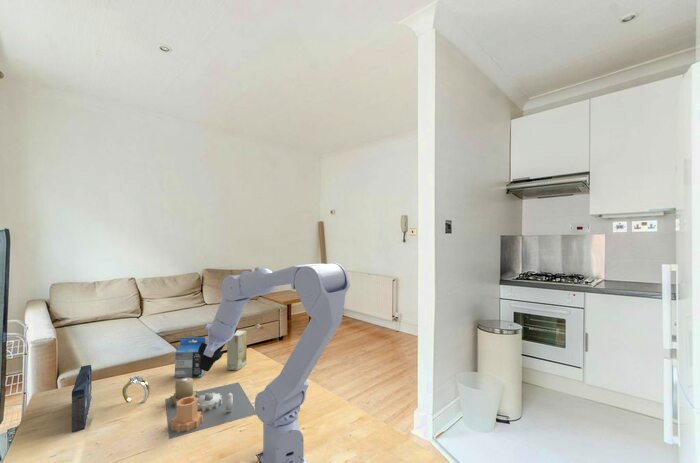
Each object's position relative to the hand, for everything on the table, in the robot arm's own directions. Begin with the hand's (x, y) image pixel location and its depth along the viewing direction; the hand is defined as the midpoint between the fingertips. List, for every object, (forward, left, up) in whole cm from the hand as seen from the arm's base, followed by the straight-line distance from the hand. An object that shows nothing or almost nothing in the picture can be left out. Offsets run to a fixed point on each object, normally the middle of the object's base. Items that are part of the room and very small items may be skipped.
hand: (210, 358), depth 84 cm
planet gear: (-1, +6, -14) cm, 15 cm away
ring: (+18, +17, -16) cm, 29 cm away
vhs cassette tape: (+20, +28, -16) cm, 39 cm away
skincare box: (+31, -13, -16) cm, 37 cm away
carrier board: (+6, 0, -16) cm, 17 cm away
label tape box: (+32, +2, -16) cm, 36 cm away
